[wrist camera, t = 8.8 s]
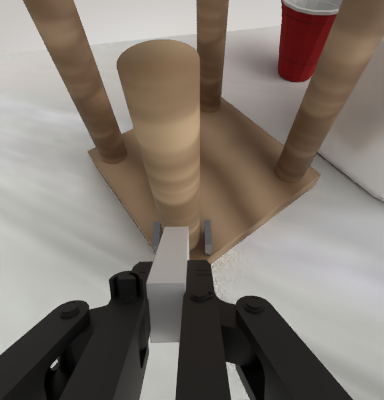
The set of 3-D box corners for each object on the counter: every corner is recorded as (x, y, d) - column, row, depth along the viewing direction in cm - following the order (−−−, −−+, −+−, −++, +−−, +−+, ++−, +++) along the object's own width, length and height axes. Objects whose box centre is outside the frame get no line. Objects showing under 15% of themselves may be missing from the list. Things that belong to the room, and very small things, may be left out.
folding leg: (200, 251, 22) (201, 83, 9) (164, 252, 22) (110, 86, 9) (199, 219, 24) (197, 38, 11) (165, 220, 24) (122, 41, 11)
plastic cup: (248, 73, 44) (263, -13, 34) (285, 48, 48) (308, -36, 37) (303, 101, 40) (339, 13, 29) (339, 71, 43) (382, -16, 33)
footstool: (179, 287, 26) (133, 131, 8) (94, 164, 34) (-19, -42, 16) (312, 187, 31) (459, -33, 14) (211, 103, 40) (219, -97, 22)
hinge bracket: (210, 255, 25) (212, 244, 22) (157, 257, 25) (152, 246, 22) (209, 232, 26) (210, 219, 23) (158, 234, 26) (153, 221, 23)
